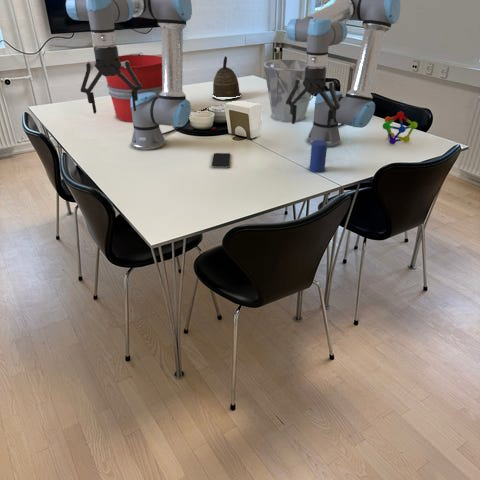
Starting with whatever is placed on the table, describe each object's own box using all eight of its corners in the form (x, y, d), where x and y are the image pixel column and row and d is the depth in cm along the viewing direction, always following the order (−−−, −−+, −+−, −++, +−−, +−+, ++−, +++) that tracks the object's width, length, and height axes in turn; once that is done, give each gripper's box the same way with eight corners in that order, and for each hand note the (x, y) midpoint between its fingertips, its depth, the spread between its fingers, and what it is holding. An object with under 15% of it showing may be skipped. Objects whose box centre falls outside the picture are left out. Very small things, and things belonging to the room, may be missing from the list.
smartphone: (211, 166, 183) (213, 153, 196) (211, 167, 184) (213, 154, 196) (229, 166, 183) (230, 153, 196) (229, 168, 184) (230, 154, 196)
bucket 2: (289, 128, 228) (292, 72, 213) (250, 116, 247) (251, 63, 232) (326, 117, 245) (332, 64, 230) (287, 106, 263) (290, 56, 249)
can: (320, 173, 179) (323, 146, 173) (306, 170, 182) (309, 143, 176) (326, 168, 184) (329, 142, 178) (313, 165, 187) (315, 139, 181)
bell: (227, 105, 294) (202, 96, 282) (238, 66, 289) (213, 55, 277) (243, 108, 280) (217, 98, 268) (255, 66, 275) (229, 55, 263)
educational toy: (377, 146, 209) (379, 114, 202) (384, 138, 219) (386, 107, 211) (411, 149, 202) (415, 116, 195) (417, 141, 212) (420, 109, 204)
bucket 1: (116, 106, 262) (108, 51, 246) (175, 107, 261) (171, 52, 245) (98, 124, 233) (88, 63, 217) (164, 125, 232) (159, 64, 216)
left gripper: (63, 49, 138) (77, 116, 150) (144, 46, 143) (151, 112, 154) (66, 45, 144) (79, 110, 156) (143, 42, 149) (150, 106, 160)
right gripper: (279, 66, 159) (276, 124, 170) (349, 71, 151) (341, 132, 162) (285, 62, 165) (282, 118, 176) (352, 67, 157) (345, 125, 168)
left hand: (115, 111), depth 155 cm, fingers open, 13 cm apart
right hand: (310, 125), depth 169 cm, fingers open, 13 cm apart
